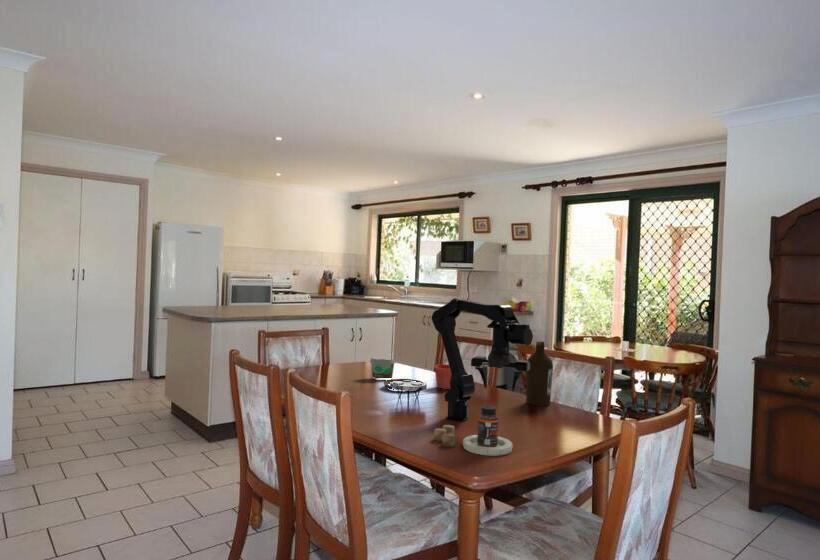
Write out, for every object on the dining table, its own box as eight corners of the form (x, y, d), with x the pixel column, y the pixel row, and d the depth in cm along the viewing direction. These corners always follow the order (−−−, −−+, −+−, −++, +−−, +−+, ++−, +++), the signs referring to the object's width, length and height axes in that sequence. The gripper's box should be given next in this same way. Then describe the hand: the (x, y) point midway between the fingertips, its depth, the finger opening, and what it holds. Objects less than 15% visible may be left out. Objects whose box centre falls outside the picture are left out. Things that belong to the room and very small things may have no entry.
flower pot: (459, 391, 240) (460, 368, 240) (434, 390, 240) (435, 367, 240) (458, 386, 251) (458, 364, 250) (434, 385, 251) (434, 364, 251)
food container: (366, 380, 257) (367, 359, 257) (369, 378, 263) (370, 357, 263) (392, 382, 255) (393, 360, 255) (395, 379, 261) (395, 358, 261)
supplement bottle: (492, 450, 157) (493, 410, 157) (473, 446, 160) (474, 407, 160) (500, 445, 162) (502, 407, 161) (482, 441, 165) (483, 403, 165)
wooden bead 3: (445, 447, 160) (445, 437, 160) (440, 443, 163) (440, 433, 163) (456, 446, 161) (456, 436, 161) (451, 443, 164) (452, 433, 164)
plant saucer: (392, 394, 229) (392, 387, 229) (377, 386, 245) (377, 379, 245) (430, 392, 236) (430, 385, 236) (413, 384, 252) (413, 377, 252)
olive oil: (523, 404, 217) (525, 342, 217) (526, 399, 227) (528, 339, 227) (550, 407, 214) (553, 343, 214) (552, 402, 224) (554, 341, 224)
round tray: (457, 451, 157) (457, 444, 157) (470, 438, 170) (471, 432, 170) (505, 458, 151) (506, 452, 151) (515, 444, 164) (516, 438, 164)
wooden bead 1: (434, 441, 165) (434, 431, 165) (434, 437, 169) (434, 428, 169) (446, 441, 165) (446, 432, 165) (445, 438, 169) (446, 428, 169)
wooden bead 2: (441, 436, 170) (441, 427, 170) (444, 433, 174) (445, 424, 174) (452, 438, 169) (452, 428, 169) (455, 435, 172) (455, 425, 172)
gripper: (467, 342, 178) (465, 390, 178) (524, 347, 170) (523, 397, 171) (476, 339, 188) (474, 384, 188) (531, 343, 181) (529, 390, 181)
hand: (499, 389), depth 182 cm, fingers open, 9 cm apart
